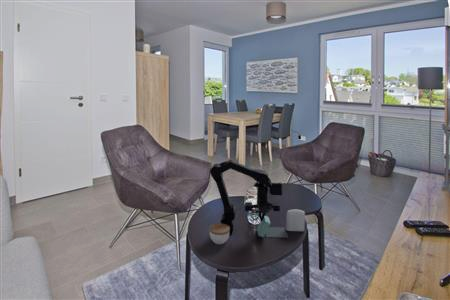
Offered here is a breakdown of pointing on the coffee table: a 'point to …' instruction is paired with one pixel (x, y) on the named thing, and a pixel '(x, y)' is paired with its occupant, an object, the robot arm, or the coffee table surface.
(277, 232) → the mat
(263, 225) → the slab
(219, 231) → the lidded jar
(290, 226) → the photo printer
